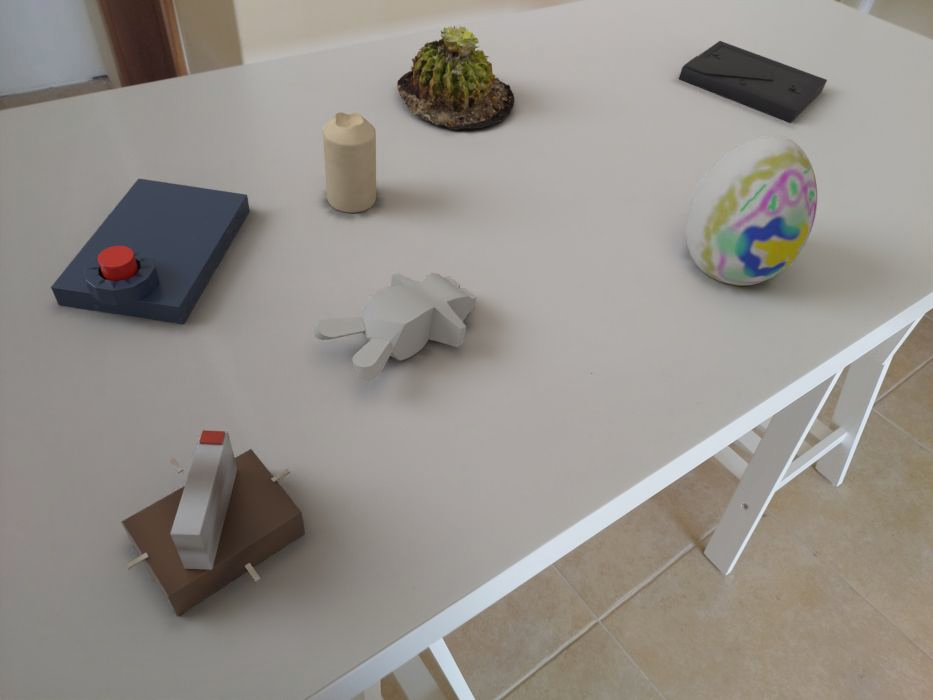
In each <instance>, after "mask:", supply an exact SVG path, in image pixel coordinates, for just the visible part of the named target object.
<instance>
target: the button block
mask: <svg viewBox="0 0 933 700" xmlns="http://www.w3.org/2000/svg"><path fill="white" fill-rule="evenodd" d="M250 212H251V209H250V203H249V197H248V194H245V193H238V192H232V191H225V190H218V189H211V188H205V187H198V186H192V185H185V184H179V183H171V182H165V181H158V180H152V179H146V178H137V179H136V181H135V182H134V183H133V184H132V186H131V187H130V188H129V189H128V191H127V192H126V193H125V195H124V196H123V197H122V198H121V200H120V201H119V202H118V203H117V204H116V205H115V207H114V208H112V211H111V212H110V213H109V214H108V215H107V216H106V218H105V219H104V220H103V221H102V223H101V224H100V226H99V227H98V228H97V229H96V231H95V232H94V233H93V234H92V236H91V237H90V238H89V239H88V240H87V242H86V243H85V244H84V245H83V247H81V249H80V250H79V251H78V252H77V254H76V255H75V256H74V258H73V259H72V260H71V261H70V263H69V264H68V265H67V267H66V268H65V269H64V270H63V271H62V273H61V274H60V275H59V276H58V278H57V279H56V280H55V281H54V282H53V284H52V285H51V287H50V289H51V291H52V293H53V296H54V298H55V300H56V302H57V305H59V306H64V307H65V306H66V307H71V308H78V309H85V310H91V311H96V312H103V313H110V314H117V315H122V316H123V315H124V316H128V317H135V318H141V319H147V320H155V321H161V322H167V323H174V324H181V325H184V324H185V323H186V321H187V320H188V317H189V316H190V315H191V313H192V311H193V309H194V307H195V306H196V304H197V303H198V301H199V300H200V297H201V295H202V294H203V292H204V291H205V289H206V287H207V285H208V284H209V282H210V281H211V279H212V277H213V275H214V273H215V272H216V270H217V268H218V266H219V265H220V263H221V261H222V259H223V258H224V256H225V254H226V253H227V251H228V249H229V247H230V246H231V244H232V242H233V241H234V239H235V237H236V235H238V232H239V231H240V228H241V227H242V225H243V224H244V223H245V220H246V219H247V217H248V215H249V213H250ZM113 246H125V247H128V248H130V249H131V250H132V251H133V253H134V256H135V259H136V262H137V266H138V272H137V273H136V275H134V276H132V277H130V278H129V279H126V280H121V281H110V280H107V279H106V278H105V277H104V276H103V274H102V271H101V268H100V265H99V263H98V256H99V254H100V253H101V252H102V251H103V250H105V249H107V248H109V247H113Z"/></svg>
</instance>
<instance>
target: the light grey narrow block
mask: <svg viewBox="0 0 933 700" xmlns="http://www.w3.org/2000/svg"><path fill="white" fill-rule="evenodd" d="M235 458H236V457H235V453H234V450H233V446H232V441H231V438H230V434H229V431H228V430H227V431H226V430H207V429H206V430H205V429H204V430H203V429H202V430H201V432H200V435H199V438H198V442H197V445H196V448H195V452H194V454H193V458H192V462H191V464H190V468H189V471H188V473H187V478H186V481H185V484H184V486H185V488H184V491H183V494H182V497H181V501H180V504H179V507H178V510H177V514H176V517H175V520H174V524H173V527H172V530H171V533H170V534H171V536H172V539H173V541H174V544H175V546H176V548H177V551H178V553H179V556H180V558H181V560H182V563H183V565H184V568H185V569H206V570H212V569H213V565H214V561H215V557H216V553H217V549H218V545H219V541H220V537H221V533H222V529H223V525H224V521H225V517H226V513H227V509H228V505H229V501H230V497H231V493H232V489H233V485H234V481H235V477H236V473H237V465H236V461H235Z"/></svg>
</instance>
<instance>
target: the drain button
mask: <svg viewBox="0 0 933 700" xmlns="http://www.w3.org/2000/svg"><path fill="white" fill-rule="evenodd" d="M98 263H99V265H100V268H101V271H102V274H103V276H104V277H105V278H106V279H107V280H110V281H121V280H126V279H129V278H130V277H132V276H134V275H136V273H137V272H138V266H137V262H136V259H135V256H134V253H133V251H132V250H131V249H130V248H128V247H125V246H113V247H109V248H107V249H105V250H103V251H102V252H101V253H100V254H99V256H98Z"/></svg>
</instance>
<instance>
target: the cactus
mask: <svg viewBox="0 0 933 700" xmlns="http://www.w3.org/2000/svg"><path fill="white" fill-rule="evenodd" d="M439 31H440V37H441V38H440V39H438V40H432V41H430V42H426V43H424V45H423V46H421V48H419V49H418V52H417V54H415V55H414V57H413V58H411V61H412V65H410V67H411V68H410V71H407V72H406V73H405V74H403V75H401V77H400V78H399V79H398V80H397V82H396V83H397V85H396V86H397V87H396V88H397V91H398V93H399V96H400V97H401V99H402V101H403V104H404V105H407V109H408V110H409V111H410V113H411V114H412V115H413V116H416V117H419V118H421V119H422V120H423V121H425V122H429V123H432V124H434V125H436V126H444V127H446V128H447V129H450V130H454V131H455V130H456V131H458V130H460V129H469V130H473V129H474V130H475V129H483V128H486V127H488V126H491V125H494V124H497V123H500V122H503V120H504V119H505V118H506V117H507V116H509V115H510V113H511V112H512V110H513V108H514V105H515V94H514V92H513V90H512V89H511V86H510V84H509V83H508V84H506V83H505V82H503V81H501V80H500V79H499V78H498V77H496V76H497V75H495V74H494V73H493V63H492V62H490V61H489V60H488V58H490V56H489V55H485V52H484V51H483V50H481V49H480V50H479V49H477V48H480V47H481V46H480V45H479V46H477V45H476V44H479V39H478V38H477V36H476V35H475V34H474V32H473V31H469V30H468V29H467V28H466V26H461V25H459V27H457V26H455V25H453V27H452V26H449V27H448V28H447V27H444V28H443V30H439ZM476 49H477V50H476Z"/></svg>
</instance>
